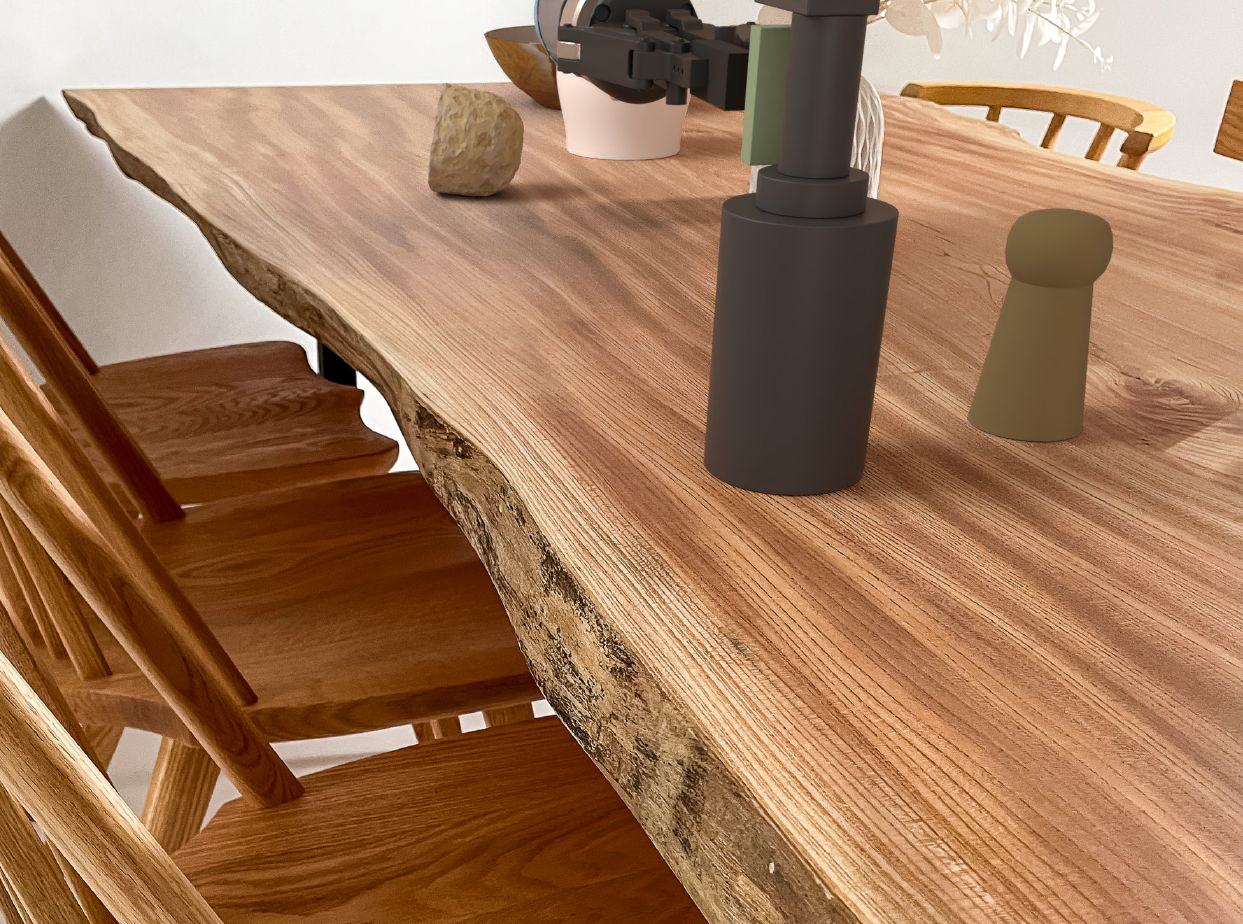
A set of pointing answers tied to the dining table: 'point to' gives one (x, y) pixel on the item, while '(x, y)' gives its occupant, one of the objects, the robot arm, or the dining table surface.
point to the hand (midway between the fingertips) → (740, 82)
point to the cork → (1043, 327)
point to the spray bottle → (802, 281)
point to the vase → (617, 123)
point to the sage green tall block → (765, 94)
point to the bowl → (526, 62)
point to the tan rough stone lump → (474, 143)
